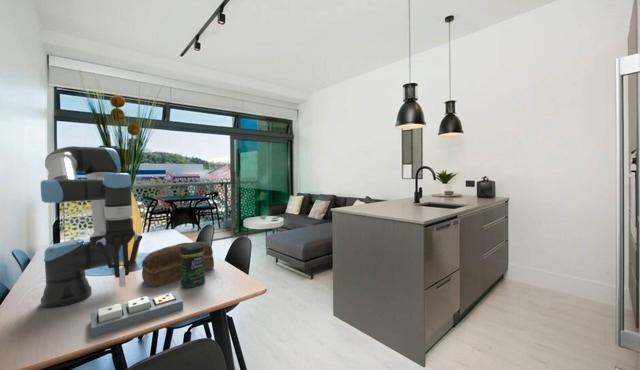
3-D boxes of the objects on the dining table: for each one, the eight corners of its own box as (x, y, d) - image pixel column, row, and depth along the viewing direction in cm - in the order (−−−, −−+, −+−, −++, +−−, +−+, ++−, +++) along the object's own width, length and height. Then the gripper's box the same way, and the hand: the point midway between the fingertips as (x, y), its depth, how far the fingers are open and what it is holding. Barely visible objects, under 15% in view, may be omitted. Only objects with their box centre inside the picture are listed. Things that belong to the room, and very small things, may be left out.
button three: (156, 310, 96) (156, 303, 96) (153, 304, 101) (153, 297, 101) (175, 304, 100) (174, 297, 100) (171, 299, 105) (171, 292, 105)
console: (91, 337, 82) (90, 328, 82) (91, 321, 91) (90, 313, 91) (183, 308, 99) (182, 300, 99) (175, 297, 108) (175, 290, 108)
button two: (129, 314, 91) (129, 306, 91) (127, 308, 96) (127, 300, 95) (150, 308, 95) (149, 301, 95) (147, 302, 99) (147, 295, 99)
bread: (138, 281, 126) (137, 248, 125) (203, 263, 151) (202, 235, 150) (150, 289, 117) (149, 254, 116) (217, 268, 142) (216, 239, 141)
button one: (99, 323, 86) (98, 315, 86) (98, 316, 90) (98, 308, 90) (122, 316, 90) (121, 308, 90) (120, 310, 94) (120, 302, 94)
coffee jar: (186, 290, 115) (185, 248, 114) (178, 285, 120) (176, 245, 119) (208, 283, 123) (206, 243, 122) (199, 279, 128) (198, 240, 127)
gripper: (95, 222, 84) (99, 295, 85) (143, 217, 93) (146, 283, 94) (93, 219, 89) (97, 287, 91) (139, 214, 98) (142, 277, 100)
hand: (122, 285), depth 92 cm, fingers closed
